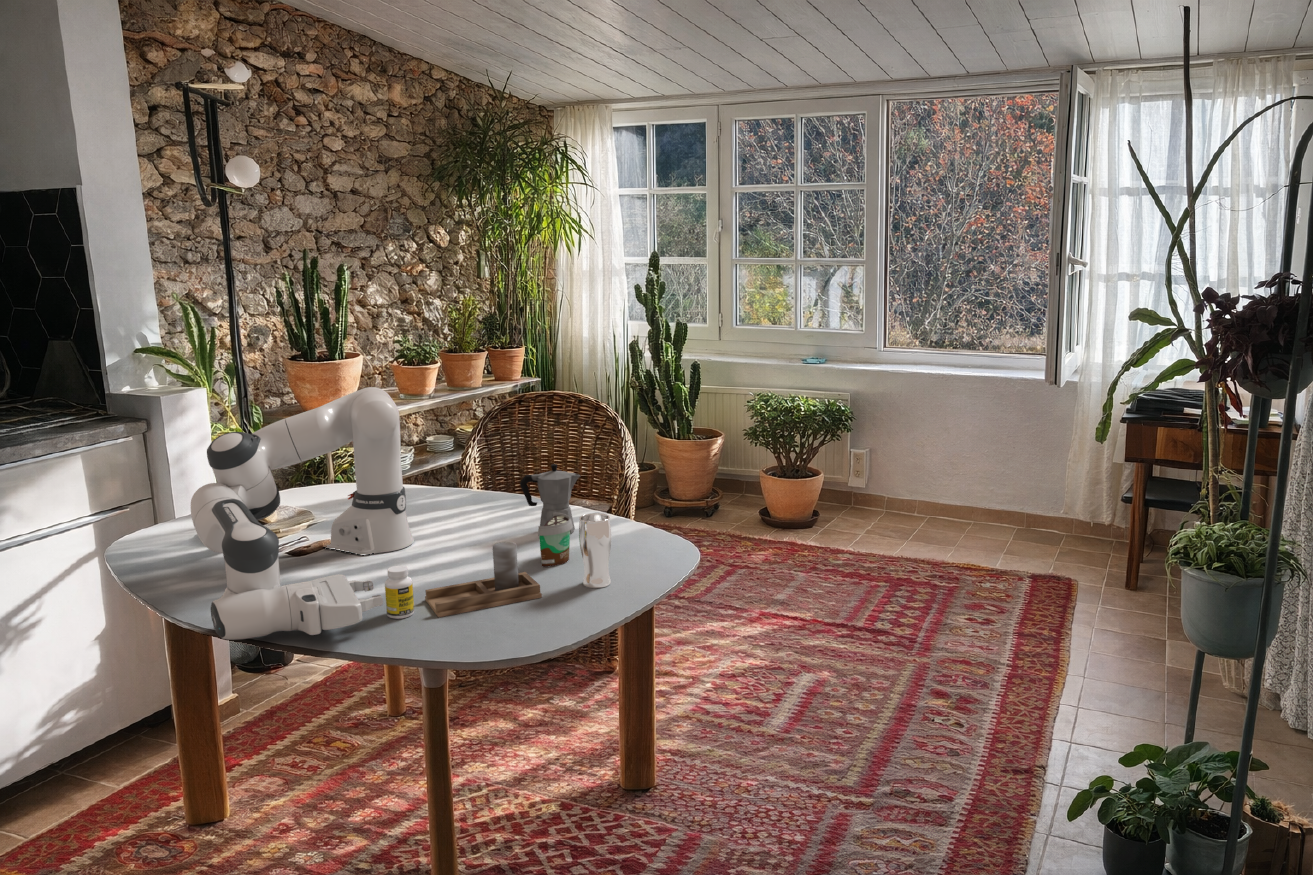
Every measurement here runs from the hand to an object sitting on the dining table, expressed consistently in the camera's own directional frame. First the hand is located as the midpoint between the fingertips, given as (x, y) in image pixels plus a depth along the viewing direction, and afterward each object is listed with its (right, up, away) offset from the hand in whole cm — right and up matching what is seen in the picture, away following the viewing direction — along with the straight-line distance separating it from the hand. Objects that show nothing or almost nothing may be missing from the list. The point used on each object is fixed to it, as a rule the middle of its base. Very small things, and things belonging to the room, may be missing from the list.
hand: (377, 592), depth 191 cm
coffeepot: (+29, +6, +56) cm, 63 cm away
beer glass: (+43, -1, +19) cm, 47 cm away
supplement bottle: (+4, -5, +4) cm, 7 cm away
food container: (+33, +2, +34) cm, 48 cm away
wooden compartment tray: (+19, -3, +11) cm, 22 cm away
